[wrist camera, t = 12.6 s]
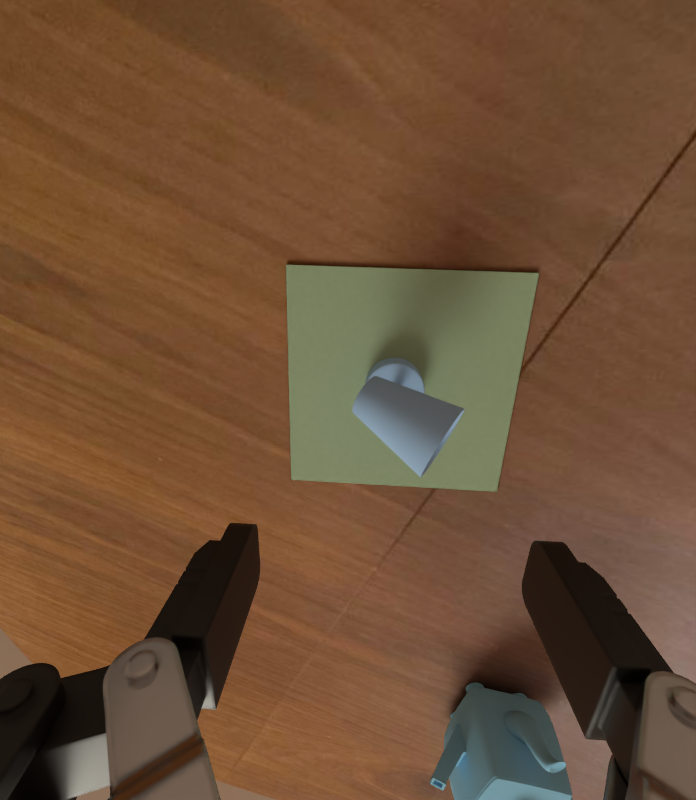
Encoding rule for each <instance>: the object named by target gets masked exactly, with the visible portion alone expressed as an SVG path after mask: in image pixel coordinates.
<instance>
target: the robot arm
mask: <svg viewBox="0 0 696 800" xmlns="http://www.w3.org/2000/svg"><path fill="white" fill-rule="evenodd" d="M259 575H260V556H259V541H258V529H257V525H256V524H242V523H230V524H229V525H228V527H227V529H226V531H225V533H224V535H223V537H222V539H221V540H220V541H214V540H209V541H208V542H207V543H206V544H205V545H204V546H202V547H201V548H200V549H199V550H198V551H197V552H195V554H194V555H193V557H192V559H191V561H190V562H189V564H188V566H187V567H186V571H184V572H183V574H182V576H181V578H180V579H179V581H178V585H177V584H176V586H175V588H174V590H173V591H172V593H171V595H170V596H169V598H168V600H167V601H166V603H165V605H164V607H163V608H162V610H161V612H160V613H159V615H158V617H157V619H156V620H155V622H154V624H153V625H152V627H151V629H150V630H149V632H148V634H147V635H146V637H145V638H144V640H142V641H139V642H137V643H135V644H133V645H131V646H130V647H128V648H127V649H125V650H124V651H123V652H122V653H121V654H119V656H118V657H117V658H116V659H115V660H114V661H113V662H112V664H111V665H109V666H107V667H103V668H100V669H96V670H92V671H88V672H84V673H80V674H76V675H72V676H68V677H64V678H61V677H60V675H59V672H58V670H57V669H56V668H55V667H54V666H53V665H50V664H47V663H36V664H31V665H27V666H24V667H21V668H19V669H17V670H15V671H13V672H11V673H9V674H8V675H6V676H4V677H3V678H1V679H0V800H76V798H77V796H80V795H83V794H86V793H89V792H92V791H95V790H98V789H101V788H104V787H107V786H110V798H108V800H221V799H220V796H219V792H218V789H217V785H216V781H215V778H214V774H213V770H212V767H211V763H210V759H209V756H208V752H207V749H206V746H205V742H204V740H203V738H202V737H201V734H200V730H199V727H198V723H197V719H198V716H199V714H200V711H201V709H215V710H216V708H217V705H218V702H219V699H220V696H221V693H222V690H223V687H224V684H225V681H226V678H227V675H228V672H229V669H230V666H231V663H232V660H233V657H234V654H235V651H236V648H237V645H238V642H239V639H240V636H241V633H242V630H243V627H244V624H245V621H246V619H247V616H248V613H249V610H250V607H251V604H252V601H253V598H254V595H255V592H256V589H257V585H258V581H259ZM522 594H523V599H524V603H525V605H526V608H527V610H528V612H529V614H530V617H531V619H532V621H533V623H534V626H535V628H536V630H537V632H538V634H539V637H540V639H541V641H542V643H543V645H544V648H545V650H546V652H547V654H548V656H549V659H550V661H551V663H552V665H553V667H554V670H555V672H556V674H557V676H558V679H559V681H560V683H561V685H562V687H563V690H564V692H565V694H566V696H567V698H568V701H569V703H570V705H571V707H572V709H573V712H574V714H575V716H576V718H577V721H578V723H579V725H580V727H581V729H582V732H583V734H584V736H585V738H586V739H594V740H606V741H607V743H608V745H609V747H610V749H611V751H612V756H611V758H610V761H609V766H608V773H607V779H606V786H605V792H604V799H603V800H696V683H694V682H692V681H690V680H689V679H687V678H684V677H682V676H680V675H677V674H674V672H673V671H672V670H671V669H670V667H669V666H668V664H667V663H666V662H665V660H664V659H663V658H662V656H661V655H660V654H659V652H658V651H657V650H656V648H655V647H654V645H653V644H652V643H651V641H650V640H649V639H648V637H647V636H646V635H645V633H644V632H643V630H642V629H641V628H640V626H639V625H638V624H637V622H636V621H635V620H634V618H633V617H632V616H631V614H628V612H627V609H626V607H625V606H624V605H623V603H622V602H621V601H620V599H617V595H616V594H615V592H614V591H613V590H612V588H611V587H610V586H609V584H608V583H607V582H606V580H605V579H604V578H603V577H602V576H601V575H600V574H598V573H597V572H596V571H595V570H594V569H592V568H591V567H590V566H589V565H587V564H586V563H581V562H578V561H577V560H576V558H575V557H574V555H573V554H572V552H571V551H570V549H569V548H568V547H567V545H566V544H565V543H563V542H550V541H534V542H533V543H532V545H531V548H530V552H529V556H528V560H527V564H526V568H525V572H524V576H523V580H522Z"/></svg>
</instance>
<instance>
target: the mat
mask: <svg viewBox="0 0 696 800" xmlns="http://www.w3.org/2000/svg"><path fill="white" fill-rule="evenodd" d="M538 276H539V273H525V272H494V271H464V270H434V269H404V268H373V267H343V266H313V265H286V282H287V323H288V364H289V405H290V446H291V480H307V481H324V482H341V483H359V484H376V485H393V486H410V487H427V488H445V489H462V490H479V491H496V492H497V488H498V483H499V478H500V472H501V467H502V462H503V457H504V452H505V447H506V442H507V436H508V431H509V426H510V421H511V416H512V411H513V405H514V400H515V395H516V390H517V385H518V380H519V374H520V369H521V364H522V359H523V354H524V349H525V343H526V338H527V333H528V328H529V323H530V318H531V312H532V307H533V302H534V297H535V292H536V287H537V281H538ZM387 358H402V359H405V360H407V361H409V362H411V363H412V364H413V365H414V366H415V367H416V368H417V369H418V371H419V373H420V375H421V377H422V380H423V382H424V387H425V393H424V394H426V395H429V396H432V397H434V398H437V399H440V400H442V401H445V402H448V403H450V404H453V405H456V406H458V407H461V408H464V409H465V410H464V412H463V414H462V416H461V418H460V420H459V421H458V423H457V425H456V426H455V428H454V430H453V431H452V433H451V435H450V436H449V438H448V439H447V441H446V442H445V444H444V446H443V447H442V449H441V450H440V452H439V453H438V455H437V456H436V458H435V459H434V461H433V462H432V464H431V465H430V466H429V468H428V469H427V471H426V472H425V473H424V475H423V476H422V477H421V478H420V477H419V476H418V475H417V474H416V473H415V472H414V471H413V470H412V469H411V468H410V467H409V466H408V465H407V464H406V463H405V462H404V461H403V460H402V459H401V458H400V457H399V456H398V455H396V454H395V453H394V452H393V451H392V450H391V449H390V448H389V447H388V446H387V445H386V444H385V443H384V442H383V441H382V440H381V439H380V438H379V437H378V436H377V435H376V434H375V433H373V432H372V431H371V430H370V429H369V428H368V427H367V426H366V425H365V424H364V423H363V422H362V421H361V420H360V419H359V418H358V417H357V416H356V415H355V414H354V413H353V412H352V408H353V404H354V402H355V399H356V397H357V395H358V394H359V392H360V390H361V389H362V388H363V386H364V385H365V382H366V377H367V375H368V373H369V371H370V369H371V368H372V367H373V366H374V365H375V364H376V363H378V362H379V361H381V360H384V359H387Z"/></svg>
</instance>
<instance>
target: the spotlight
mask: <svg viewBox="0 0 696 800" xmlns="http://www.w3.org/2000/svg"><path fill="white" fill-rule="evenodd" d="M424 393H425V387H424V382H423V380H422V377H421V375H420V373H419V371H418V369H417V368H416V367H415V366H414V365H413V364H412V363H411V362H409V361H407V360H405V359H402V358H387V359H384V360H381V361H379V362H378V363H376V364H375V365H374V366H373V367H372V368H371V369H370V371H369V373H368V375H367V377H366V382H365V385H364V386H363V388H362V389H361V390H360V392H359V394H358V395H357V397H356V399H355V402H354V404H353V408H352V412H353V413H354V414H355V415H356V416H357V417H358V418H359V419H360V420H361V421H362V422H363V423H364V424H365V425H366V426H367V427H368V428H369V429H370V430H371V431H372V432H373V433H375V434H376V435H377V436H378V437H379V438H380V439H381V440H382V441H383V442H384V443H385V444H386V445H387V446H388V447H389V448H390V449H391V450H392V451H393V452H394V453H395V454H396V455H398V456H399V457H400V458H401V459H402V460H403V461H404V462H405V463H406V464H407V465H408V466H409V467H410V468H411V469H412V470H413V471H414V472H415V473H416V474H417V475H418V476H419V477H420V478H421V477H422V476H423V475H424V473H425V472H426V471H427V469H428V468H429V466H430V465H431V464H432V462H433V461H434V459H435V458H436V456H437V455H438V453H439V452H440V450H441V449H442V447H443V446H444V444H445V442H446V441H447V439H448V438H449V436H450V435H451V433H452V431H453V430H454V428H455V426H456V425H457V423H458V421H459V420H460V418H461V416H462V414H463V412H464V410H465V409H464V408H461V407H458V406H456V405H453V404H450V403H448V402H445V401H442V400H440V399H437V398H434V397H432V396H429V395H426V394H424Z"/></svg>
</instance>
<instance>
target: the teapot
mask: <svg viewBox="0 0 696 800" xmlns="http://www.w3.org/2000/svg"><path fill="white" fill-rule="evenodd" d="M466 692H467V694H466V696H465V697H464V698H463V700H462V701H461V703H460V704H459V706H458V707H457V709H456V710H455V712H453V713H452V714H451V715H450V718H451V720H450V723H449V725H448V727H447V730H446V732H445V738H444V751H443V754H442V756H441V758H440V760H439V762H438V764H437V767H436V769H435V771H434V773H433V775H432V778H431V780H430V784H431V785H433V786H435V787H437V788H439V789H441V790H442V791H443V790H444V788H445V786H446V782H447V780H448V778H449V780H450V784H451V788H452V792H453V796H454V800H572V791H571V787H570V782H569V778H568V774H567V771H566V767H565V766H566V763H565V762H564V759H563V755H562V752H561V749H560V745H559V742H558V739H557V736H556V733H555V730H554V727H553V725H552V722H551V719H550V717H549V715H548V713H547V712H546V710H545V708H544V707H543V705H542V704H541V702H539V701H536V700H533V699H529V698H527V697H526V695H524V694H522V693H514V694H509V693H505V692H500V691H496V690H491V689H487V688H484V686H483V685H482V684H480V683H470V684H468V685H467V686H466Z"/></svg>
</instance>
